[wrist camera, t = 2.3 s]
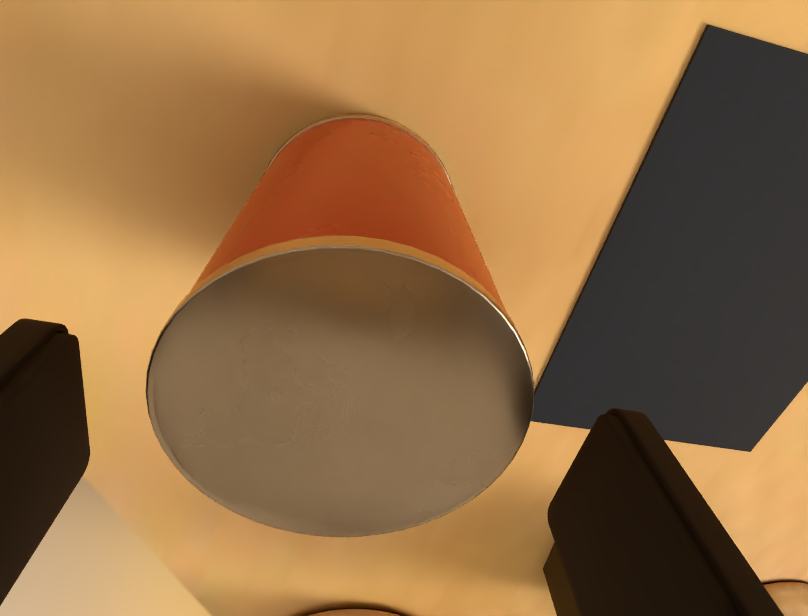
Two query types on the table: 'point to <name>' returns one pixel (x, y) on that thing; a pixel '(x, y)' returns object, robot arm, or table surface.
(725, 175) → the placemat
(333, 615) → the cylinder vase
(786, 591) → the hand bell
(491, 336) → the tin can
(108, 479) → the table surface
